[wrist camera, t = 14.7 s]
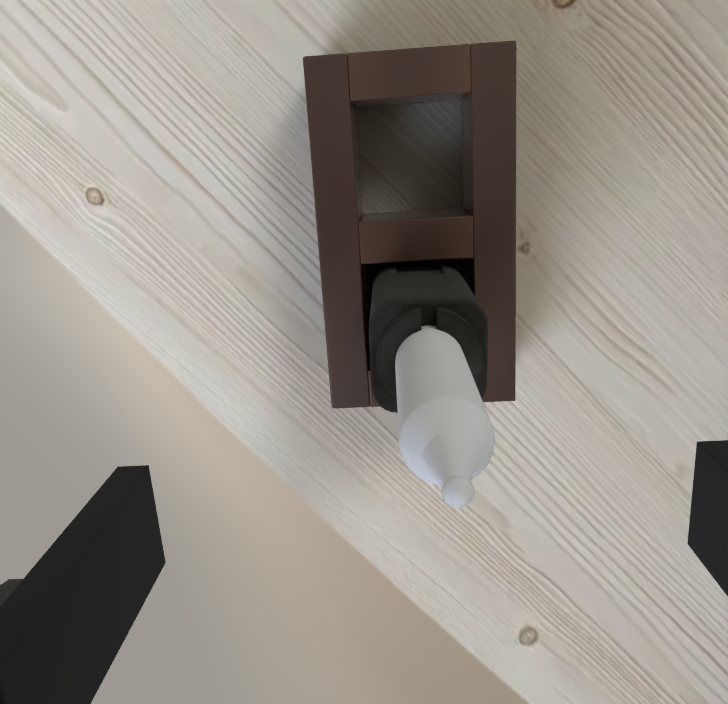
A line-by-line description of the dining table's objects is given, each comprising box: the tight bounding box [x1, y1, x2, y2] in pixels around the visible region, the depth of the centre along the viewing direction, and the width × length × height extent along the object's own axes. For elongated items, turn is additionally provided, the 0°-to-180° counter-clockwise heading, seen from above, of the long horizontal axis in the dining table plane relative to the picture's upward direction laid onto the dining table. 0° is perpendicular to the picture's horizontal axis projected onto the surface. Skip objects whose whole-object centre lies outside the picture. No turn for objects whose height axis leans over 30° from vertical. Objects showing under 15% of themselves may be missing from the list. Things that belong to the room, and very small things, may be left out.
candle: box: [369, 259, 495, 508], centre depth 29 cm, size 5×5×25 cm
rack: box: [303, 41, 516, 408], centre depth 37 cm, size 10×19×5 cm, turn 4°
